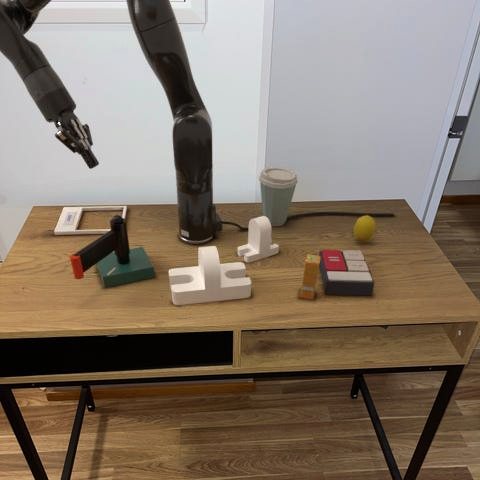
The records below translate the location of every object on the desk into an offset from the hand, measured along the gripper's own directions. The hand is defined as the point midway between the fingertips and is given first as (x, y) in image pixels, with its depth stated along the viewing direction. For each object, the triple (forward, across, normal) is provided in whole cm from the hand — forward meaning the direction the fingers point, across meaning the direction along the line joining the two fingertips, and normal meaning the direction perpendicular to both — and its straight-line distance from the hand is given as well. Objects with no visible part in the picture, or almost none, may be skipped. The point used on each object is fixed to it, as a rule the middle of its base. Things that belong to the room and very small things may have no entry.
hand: (94, 166), depth 115 cm
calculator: (+51, +4, -39) cm, 65 cm away
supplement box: (+48, -5, -31) cm, 58 cm away
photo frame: (+11, +18, +19) cm, 28 cm away
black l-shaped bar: (+20, -11, +6) cm, 24 cm away
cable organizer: (+38, +11, -21) cm, 45 cm away
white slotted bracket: (+36, -7, -12) cm, 39 cm away
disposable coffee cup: (+36, +29, -26) cm, 53 cm away
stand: (+24, -4, +6) cm, 25 cm away
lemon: (+50, +22, -46) cm, 71 cm away
